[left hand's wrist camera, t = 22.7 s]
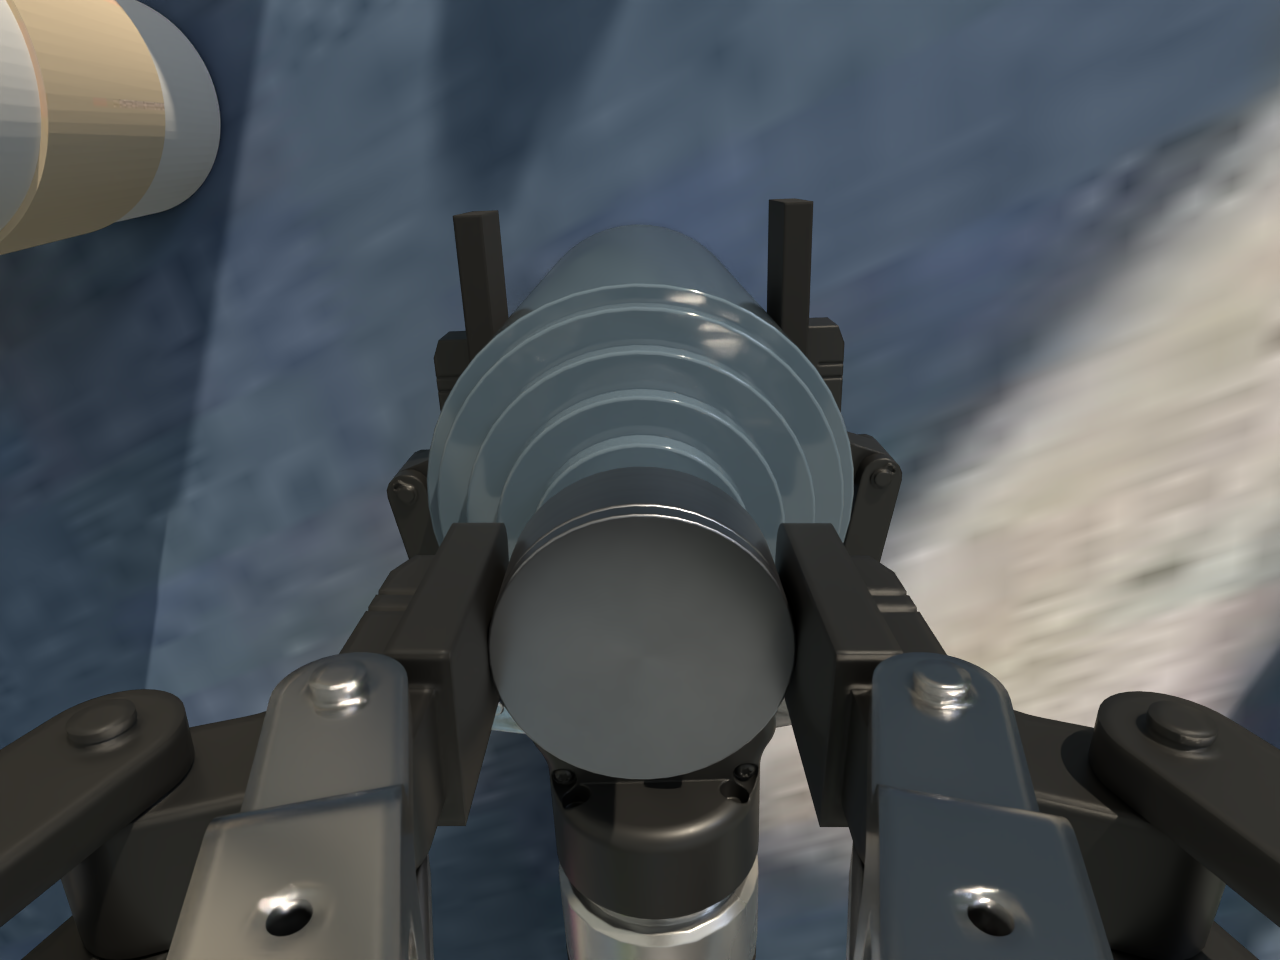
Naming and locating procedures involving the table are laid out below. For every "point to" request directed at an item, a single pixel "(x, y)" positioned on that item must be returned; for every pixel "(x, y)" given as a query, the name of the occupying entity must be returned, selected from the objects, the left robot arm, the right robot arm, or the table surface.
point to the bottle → (640, 393)
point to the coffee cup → (97, 117)
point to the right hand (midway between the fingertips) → (632, 207)
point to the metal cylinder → (641, 626)
